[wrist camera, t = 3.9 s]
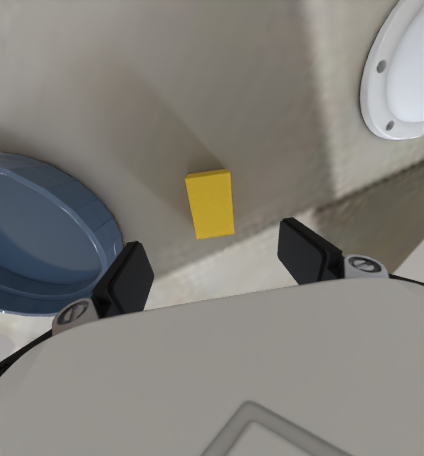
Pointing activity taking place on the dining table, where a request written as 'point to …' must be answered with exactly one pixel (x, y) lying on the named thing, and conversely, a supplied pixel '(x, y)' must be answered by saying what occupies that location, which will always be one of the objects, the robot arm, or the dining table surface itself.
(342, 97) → the dining table surface
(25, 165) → the bowl
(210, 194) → the sponge
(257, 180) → the dining table surface
